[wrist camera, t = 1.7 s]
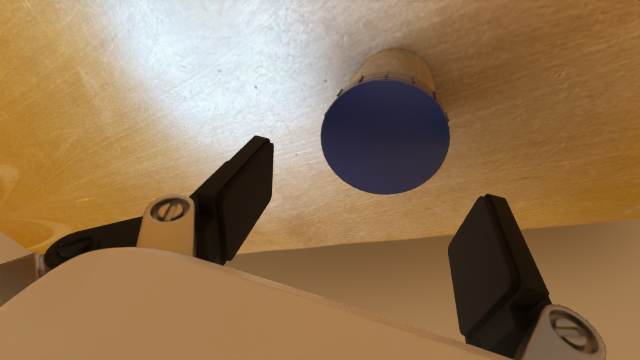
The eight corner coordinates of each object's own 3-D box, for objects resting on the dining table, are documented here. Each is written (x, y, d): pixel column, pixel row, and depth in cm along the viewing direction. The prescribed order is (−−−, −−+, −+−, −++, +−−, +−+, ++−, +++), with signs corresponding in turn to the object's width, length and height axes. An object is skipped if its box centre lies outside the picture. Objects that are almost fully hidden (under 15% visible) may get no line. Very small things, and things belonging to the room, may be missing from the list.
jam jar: (446, 57, 21) (466, 97, 13) (417, 134, 24) (419, 199, 17) (362, 41, 21) (335, 69, 14) (346, 118, 25) (319, 172, 18)
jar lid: (469, 86, 14) (475, 96, 13) (421, 191, 18) (422, 207, 17) (337, 58, 15) (329, 65, 14) (320, 164, 19) (313, 178, 18)
